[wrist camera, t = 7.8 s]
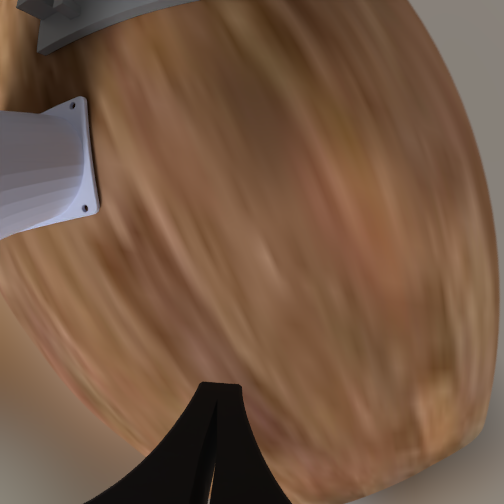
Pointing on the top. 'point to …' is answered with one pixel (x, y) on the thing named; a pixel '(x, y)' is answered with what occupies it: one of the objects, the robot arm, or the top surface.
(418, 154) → the top surface
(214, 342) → the top surface
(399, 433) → the top surface
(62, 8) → the rod slider bracket
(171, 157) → the top surface
